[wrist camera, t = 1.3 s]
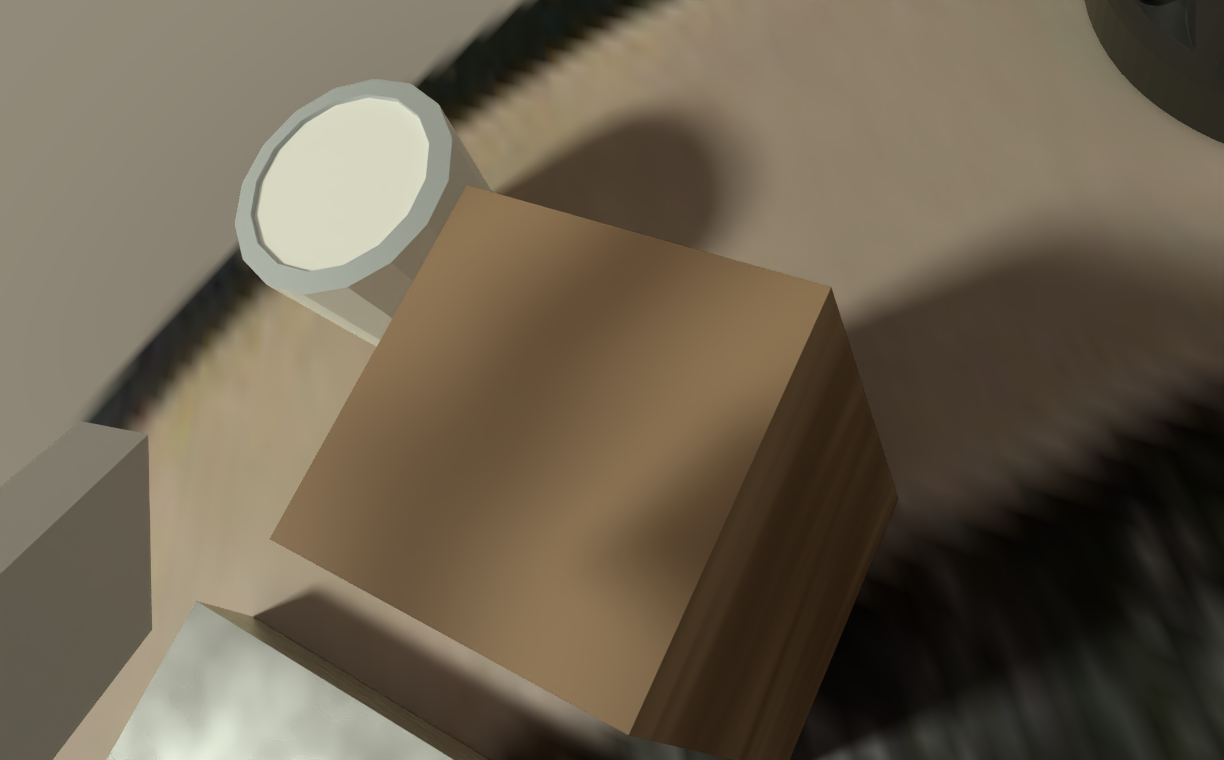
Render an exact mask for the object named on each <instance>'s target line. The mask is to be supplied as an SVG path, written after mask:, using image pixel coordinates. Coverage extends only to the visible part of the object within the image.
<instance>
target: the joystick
mask: <svg viewBox="0 0 1224 760" xmlns="http://www.w3.org/2000/svg"><path fill="white" fill-rule="evenodd" d="M107 760H489V759H487V758H485V757H484V756H482V755H480V754H479V753H477V752H475V751H474V750H472V749H470V748H469V747H467V746H465V745H464V744H462V743H461V742H459V741H457V740H456V739H454V738H452V737H451V736H449V735H447V734H446V733H444V732H442V731H441V730H439V729H437V728H436V727H434V726H432V725H431V724H429V723H427V722H426V721H424V720H422V719H421V718H419V717H418V716H416V715H414V714H413V713H411V712H409V711H408V710H406V709H404V708H403V707H401V706H399V705H398V704H396V703H394V702H393V701H391V700H389V699H388V698H386V697H384V696H383V695H381V694H379V693H378V692H376V691H375V690H373V689H371V688H370V687H368V686H366V685H365V684H363V683H361V682H360V681H358V680H356V679H355V678H353V677H351V676H350V675H348V674H346V673H345V672H343V671H341V670H340V669H338V668H336V667H335V666H333V665H332V664H330V663H328V662H327V661H325V660H323V659H322V658H320V657H318V656H317V655H315V654H313V653H312V652H310V651H308V650H307V649H305V648H303V647H302V646H300V645H298V644H297V643H295V642H293V641H292V640H290V639H289V638H287V637H285V636H284V635H282V634H280V633H279V632H277V631H275V630H274V629H272V628H270V627H269V626H267V625H265V624H264V623H262V622H260V621H259V620H257V619H255V618H254V617H252V616H249V615H245V614H242V613H238V612H234V611H231V610H227V609H224V608H220V607H216V606H213V605H209V604H205V603H202V602H198V601H196V603H195V605H194V607H193V608H192V610H191V612H190V614H189V615H188V617H187V619H186V621H185V622H184V624H183V626H182V628H181V630H180V631H179V633H178V635H177V637H176V638H175V640H174V642H173V644H172V645H171V647H170V649H169V651H168V653H167V654H166V656H165V658H164V660H163V661H162V663H161V665H160V667H159V668H158V670H157V672H156V674H155V676H154V677H153V679H152V681H151V683H150V684H149V686H148V688H147V690H146V691H145V693H144V695H143V697H142V698H141V700H140V702H139V704H138V706H137V707H136V709H135V711H134V713H133V714H132V716H131V718H130V720H129V721H128V723H127V725H126V727H125V729H124V730H123V732H122V734H121V736H120V737H119V739H118V741H117V743H116V744H115V746H114V748H113V750H112V752H111V753H110V755H109V757H108V759H107Z"/></svg>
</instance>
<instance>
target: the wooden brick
mask: <svg viewBox="0 0 1224 760" xmlns="http://www.w3.org/2000/svg"><path fill="white" fill-rule="evenodd" d="M897 499H898V496H897V493H896V490H895V487H894V484H893V481H892V477H891V474H890V471H889V468H888V465H887V462H886V458H885V455H884V452H883V449H882V446H881V443H880V440H879V436H878V433H877V430H876V427H875V424H874V421H873V417H872V414H871V411H870V408H869V405H868V402H867V398H866V395H865V392H864V389H863V386H862V383H861V380H860V376H859V373H858V370H857V367H856V364H855V361H854V357H853V354H852V351H851V348H850V345H849V342H848V339H847V335H846V332H845V329H844V326H843V323H842V320H841V316H840V313H839V310H838V307H837V304H836V301H835V297H834V294H833V291H832V288H831V287H829V286H825V285H822V284H818V283H814V282H811V281H807V280H804V279H800V278H797V277H793V276H790V275H786V274H782V273H779V272H775V271H772V270H768V269H765V268H761V267H757V266H754V265H750V264H747V263H743V262H740V261H736V260H732V259H729V258H725V257H722V256H718V255H715V254H711V253H707V252H704V251H700V250H697V249H693V248H690V247H686V246H682V245H679V244H675V243H672V242H668V241H665V240H661V239H657V238H654V237H650V236H647V235H643V234H640V233H636V232H632V231H629V230H625V229H622V228H618V227H615V226H611V225H608V224H604V223H600V222H597V221H593V220H590V219H586V218H583V217H579V216H575V215H572V214H568V213H565V212H561V211H558V210H554V209H550V208H547V207H543V206H540V205H536V204H533V203H529V202H525V201H522V200H518V199H515V198H511V197H508V196H504V195H500V194H497V193H493V192H490V191H486V190H483V189H479V188H475V187H472V186H468V185H467V186H466V187H465V189H464V191H463V193H462V195H461V196H460V198H459V200H458V202H457V203H456V205H455V207H454V209H453V211H452V212H451V214H450V216H449V218H448V220H447V221H446V223H445V225H444V227H443V229H442V230H441V232H440V234H439V236H438V238H437V239H436V241H435V243H434V245H433V247H432V248H431V250H430V252H429V254H428V256H427V257H426V259H425V261H424V263H423V265H422V266H421V268H420V270H419V272H418V274H417V275H416V277H415V279H414V281H413V283H412V284H411V286H410V288H409V290H408V292H407V293H406V295H405V297H404V299H403V300H402V302H401V304H400V306H399V308H398V309H397V311H396V313H395V315H394V317H393V318H392V320H391V322H390V324H389V326H388V327H387V329H386V331H385V333H384V335H383V336H382V338H381V340H380V342H379V344H378V345H377V347H376V349H375V351H374V353H373V354H372V356H371V358H370V360H369V362H368V363H367V365H366V367H365V369H364V371H363V372H362V374H361V376H360V378H359V380H358V381H357V383H356V385H355V387H354V388H353V390H352V392H351V394H350V396H349V397H348V399H347V401H346V403H345V405H344V406H343V408H342V410H341V412H340V414H339V415H338V417H337V419H336V421H335V423H334V424H333V426H332V428H331V430H330V432H329V433H328V435H327V437H326V439H325V441H324V442H323V444H322V446H321V448H320V450H319V451H318V453H317V455H316V457H315V459H314V460H313V462H312V464H311V466H310V468H309V469H308V471H307V473H306V475H305V477H304V478H303V480H302V482H301V484H300V485H299V487H298V489H297V491H296V493H295V494H294V496H293V498H292V500H291V502H290V503H289V505H288V507H287V509H286V511H285V512H284V514H283V516H282V518H281V520H280V521H279V523H278V525H277V527H276V529H275V530H274V532H273V534H272V536H271V538H270V539H271V540H273V541H274V542H276V543H278V544H280V545H282V546H283V547H285V548H287V549H289V550H291V551H293V552H294V553H296V554H298V555H300V556H302V557H304V558H305V559H307V560H309V561H311V562H313V563H315V564H316V565H318V566H320V567H322V568H324V569H326V570H327V571H329V572H331V573H333V574H335V575H336V576H338V577H340V578H342V579H344V580H346V581H347V582H349V583H351V584H353V585H355V586H357V587H358V588H360V589H362V590H364V591H366V592H368V593H369V594H371V595H373V596H375V597H377V598H379V599H380V600H382V601H384V602H386V603H388V604H389V605H391V606H393V607H395V608H397V609H399V610H400V611H402V612H404V613H406V614H408V615H410V616H411V617H413V618H415V619H417V620H419V621H421V622H422V623H424V624H426V625H428V626H430V627H432V628H433V629H435V630H437V631H439V632H441V633H442V634H444V635H446V636H448V637H450V638H452V639H453V640H455V641H457V642H459V643H461V644H463V645H464V646H466V647H468V648H470V649H472V650H474V651H475V652H477V653H479V654H481V655H483V656H485V657H486V658H488V659H490V660H492V661H494V662H495V663H497V664H499V665H501V666H503V667H505V668H506V669H508V670H510V671H512V672H514V673H516V674H517V675H519V676H521V677H523V678H525V679H527V680H528V681H530V682H532V683H534V684H536V685H538V686H539V687H541V688H543V689H545V690H547V691H548V692H550V693H552V694H554V695H556V696H558V697H559V698H561V699H563V700H565V701H567V702H569V703H570V704H572V705H574V706H576V707H578V708H580V709H581V710H583V711H585V712H587V713H589V714H591V715H592V716H594V717H596V718H598V719H600V720H602V721H603V722H605V723H607V724H609V725H611V726H612V727H614V728H616V729H618V730H620V731H622V732H623V733H625V734H627V735H629V736H634V737H638V738H642V739H647V740H651V741H655V742H660V743H664V744H668V745H673V746H677V747H681V748H686V749H690V750H694V751H699V752H703V753H707V754H711V755H716V756H720V757H724V758H729V759H733V760H790V758H791V755H792V753H793V751H794V748H795V746H796V743H797V741H798V738H799V736H800V734H801V731H802V729H803V726H804V724H805V722H806V719H807V717H808V714H809V712H810V709H811V707H812V705H813V702H814V700H815V697H816V695H817V693H818V690H819V688H820V685H821V683H822V680H823V678H824V676H825V673H826V671H827V668H828V666H829V664H830V661H831V659H832V656H833V654H834V652H835V649H836V647H837V644H838V642H839V639H840V637H841V635H842V632H843V630H844V627H845V625H846V623H847V620H848V618H849V615H850V613H851V610H852V608H853V606H854V603H855V601H856V598H857V596H858V594H859V591H860V589H861V586H862V584H863V582H864V579H865V577H866V574H867V572H868V569H869V567H870V565H871V562H872V560H873V557H874V555H875V553H876V550H877V548H878V545H879V543H880V540H881V538H882V536H883V533H884V531H885V528H886V526H887V524H888V521H889V519H890V516H891V514H892V511H893V509H894V507H895V504H896V502H897Z"/></svg>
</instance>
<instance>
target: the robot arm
mask: <svg viewBox="0 0 1224 760" xmlns="http://www.w3.org/2000/svg"><path fill="white" fill-rule="evenodd" d="M1085 4H1086V8H1087V12H1088V15H1089V18H1090V20H1091V23H1092V26H1093V28H1094V31H1095V33H1096V35H1097V37H1098V39H1099V41H1100V43H1101V44H1102V46H1103V48H1104V49H1105V51H1106V52H1107V54H1108V56H1109V57H1110V59H1111V60H1112V61H1113V63H1114V64H1115V65H1116V67H1117V68H1118V69H1119V70H1120V72H1121V73H1122V74H1123V75H1124V76H1125V77H1126V78H1127V79H1128V80H1129V82H1130V83H1131V84H1132V85H1133V86H1134V87H1136V88H1137V89H1138V90H1139V91H1140V92H1141V93H1142V94H1143V95H1144V96H1145V97H1147V98H1148V99H1149V100H1150V101H1152V102H1153V103H1154V104H1155V105H1157V106H1158V107H1159V108H1160V109H1162V110H1163V111H1165V112H1166V113H1168V114H1169V115H1171V116H1172V117H1174V118H1175V119H1177V120H1178V121H1180V122H1182V123H1184V124H1185V125H1187V126H1189V127H1191V128H1192V129H1194V130H1196V131H1198V132H1200V133H1202V134H1204V135H1206V136H1208V137H1210V138H1212V139H1214V140H1217V141H1219V142H1222V143H1224V0H1085ZM151 630H152V606H151V555H150V504H149V453H148V434H144V433H138V432H133V431H128V430H123V429H118V428H112V427H107V426H102V425H97V424H92V423H87V422H81V421H80V422H79V423H78V424H76V425H75V426H74V427H73V428H72V429H70V430H69V431H68V432H67V433H65V434H64V435H63V436H62V437H61V438H59V439H58V440H57V441H56V442H54V443H53V444H52V445H51V446H50V447H48V448H47V449H46V450H45V451H44V452H42V453H41V454H40V455H39V456H37V457H36V458H35V459H34V460H32V461H31V462H30V463H29V464H28V465H26V466H25V467H24V468H23V469H21V470H20V471H19V472H18V473H16V474H15V475H14V476H13V477H12V478H10V479H9V480H8V481H7V482H5V483H4V484H3V485H2V486H1V487H0V760H53V758H54V757H55V756H56V754H57V753H58V752H59V750H60V749H61V748H62V747H63V745H64V744H65V743H66V741H67V740H68V739H69V737H70V736H71V735H72V733H73V732H74V731H75V730H76V728H77V727H78V726H79V724H80V723H81V722H82V720H83V719H84V718H85V716H86V715H87V714H88V713H89V711H90V710H91V709H92V707H93V706H94V705H95V703H96V702H97V701H98V699H99V698H100V697H101V696H102V694H103V693H104V692H105V690H106V689H107V688H108V686H109V685H110V684H111V682H112V681H113V680H114V679H115V677H116V676H117V675H118V673H119V672H120V671H121V669H122V668H123V667H124V665H125V664H126V663H127V661H128V660H129V659H130V658H131V656H132V655H133V654H134V652H135V651H136V650H137V648H138V647H139V646H140V644H141V643H142V642H143V641H144V639H145V638H146V637H147V635H148V634H149V633H150V631H151Z"/></svg>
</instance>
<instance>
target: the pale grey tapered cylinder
mask: <svg viewBox="0 0 1224 760" xmlns="http://www.w3.org/2000/svg"><path fill="white" fill-rule="evenodd" d="M467 185H468V186H472V187H475V188H479V189H483V190H486V191H490V192H492V191H491V189H490V187H489V186H488V184H487V182H486V181H485V179H484V178H483V176H482V174H481V173H480V171H479V169H478V168H477V166H476V164H475V163H474V161H473V160H472V158H471V156H470V155H469V153H468V151H467V150H466V148H465V147H464V145H463V143H462V142H461V140H460V138H459V137H458V135H457V133H456V132H455V130H454V129H453V127H452V125H451V124H450V122H449V120H448V119H447V117H446V116H445V114H444V112H443V111H442V109H441V107H440V106H439V104H437V103H436V102H435V101H433V100H432V99H431V98H429V97H428V96H427V95H425V94H424V93H423V92H421V91H420V90H419V89H417V88H416V87H415V86H413V85H412V84H408V83H401V82H393V81H387V80H380V79H371V80H367V81H363V82H359V83H355V84H351V85H347V86H343V87H339V88H335V89H333V90H331V91H329V92H328V93H326V94H324V95H323V96H321V97H319V98H318V99H316V100H314V101H313V102H311V103H309V104H307V105H306V106H304V107H302V108H301V109H299V110H297V111H296V112H295V113H294V114H293V115H292V116H291V117H290V118H289V119H288V120H287V121H286V122H285V123H284V124H283V125H282V126H281V127H280V128H279V129H278V130H277V131H276V133H274V134H273V135H272V137H271V138H270V139H269V140H268V141H267V142H266V143H265V144H264V145H263V147H262V148H261V150H260V152H259V154H258V156H257V158H256V159H255V161H254V163H253V165H252V167H251V169H250V170H249V172H248V174H247V176H246V178H245V180H244V181H243V183H242V187H241V193H240V198H239V204H238V210H237V214H236V220H235V227H236V231H237V236H238V240H239V244H240V249H241V253H242V257H243V260H244V261H245V262H246V263H247V264H248V265H249V266H250V267H251V268H252V270H253V271H254V272H255V273H256V274H257V275H258V276H259V277H260V278H261V279H262V280H263V281H264V282H265V283H266V284H267V285H268V286H270V287H272V288H274V289H275V290H277V291H279V292H281V293H282V294H284V295H286V296H288V297H289V298H291V299H293V300H295V301H297V302H298V303H300V304H302V305H304V306H305V307H307V308H309V309H311V310H312V311H314V312H316V313H318V314H320V315H321V316H323V317H325V318H327V319H328V320H330V321H332V322H334V323H335V324H337V325H339V326H341V327H343V328H344V329H346V330H348V331H350V332H351V333H353V334H355V335H357V336H358V337H360V338H362V339H364V340H366V341H367V342H369V343H371V344H373V345H374V346H376V347H377V345H378V344H379V342H380V340H381V338H382V336H383V335H384V333H385V331H386V329H387V327H388V326H389V324H390V322H391V320H392V318H393V317H394V315H395V313H396V311H397V309H398V308H399V306H400V304H401V302H402V300H403V299H404V297H405V295H406V293H407V292H408V290H409V288H410V286H411V284H412V283H413V281H414V279H415V277H416V275H417V274H418V272H419V270H420V268H421V266H422V265H423V263H424V261H425V259H426V257H427V256H428V254H429V252H430V250H431V248H432V247H433V245H434V243H435V241H436V239H437V238H438V236H439V234H440V232H441V230H442V229H443V227H444V225H445V223H446V221H447V220H448V218H449V216H450V214H451V212H452V211H453V209H454V207H455V205H456V203H457V202H458V200H459V198H460V196H461V195H462V193H463V191H464V189H465V187H466V186H467Z"/></svg>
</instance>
